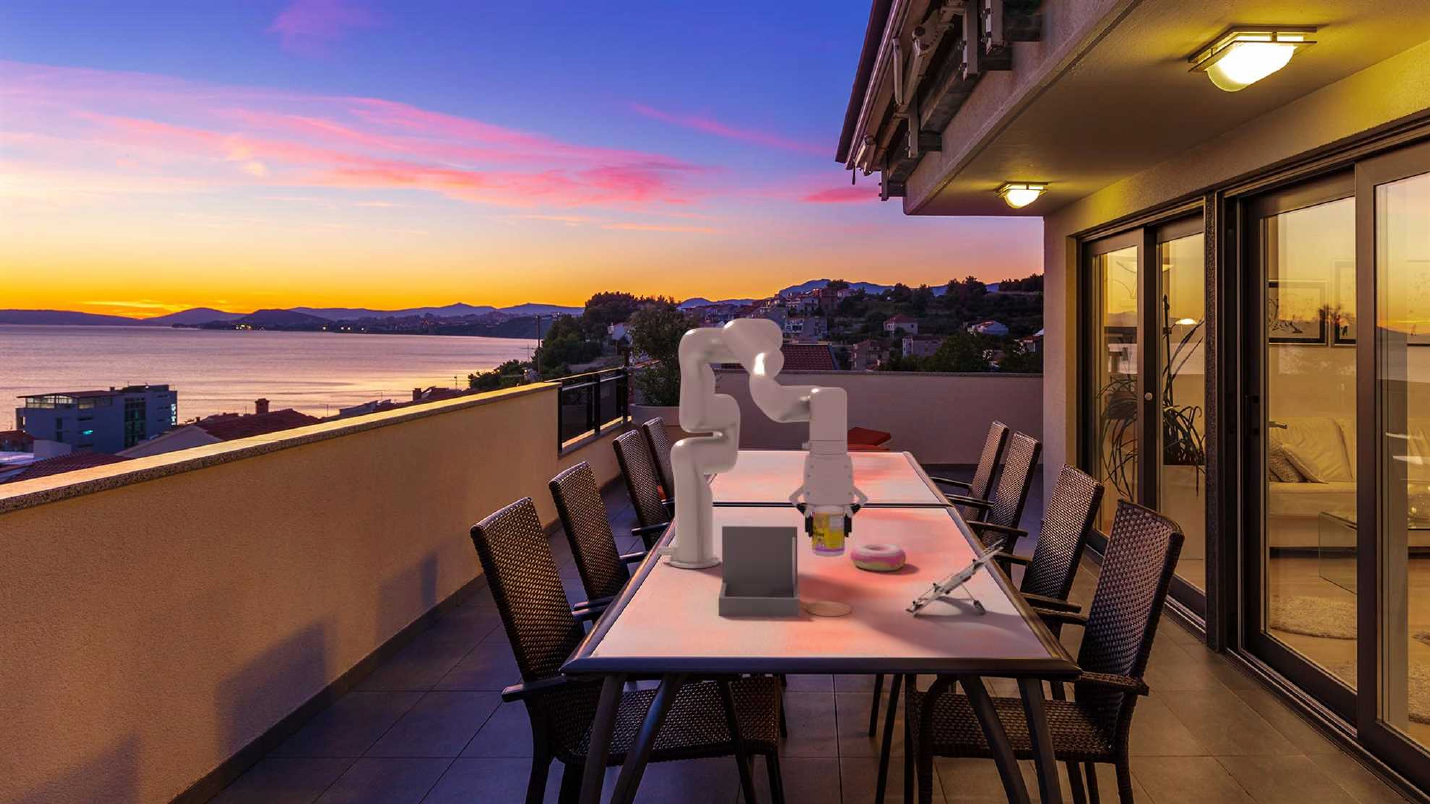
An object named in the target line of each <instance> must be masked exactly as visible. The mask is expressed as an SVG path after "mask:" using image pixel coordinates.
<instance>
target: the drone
mask: <svg viewBox="0 0 1430 804" xmlns="http://www.w3.org/2000/svg"><path fill="white" fill-rule="evenodd" d="M1002 541H1004V538H1002V539H1000V540H998V541H997V542H995V543H994V544H992V543H988V546H989V547H987V548H985V549H984V550H983V551H981V552H980V554H981V556H980V557H979V558H977V559H976V558H973V559H971V561H972V563H971V564H970V565H969V566H967V567H966V568H965V569H963V570H961V571H960V572H957V573H955V574H954V573H953V572H951V573H949V575H947V576H946V577H944V578H943V579H941V581H939V582H938V583H936V582H933V583H932V585H933V586H932V587H931V588H930V589H929V590H927V591H926V592H924V593H923V594H922V595H920V596H919V597H918V598H917V599H918V601H915V600H913V601H912V604H911V605H909V606H908V607H907V608H906V609H905V611H907V610H909V609H911V608H912V607H914V608H913V613H912V616H914V615H916V614H917V613H919V612H920V611H922V610H923V609H924V608H926V607H927V606H928V605H930V604H931V603H933V602H934V601H935V600H936V599H938V598H939V597H940V596H941V595H943V594H945V595H946V596H947V595H949V594H950V593H951V592H953V591H954V590H956V589H957V588H959V587H960V586H962V587H963V588H964V590H965V591H966V593H967V594H968V595H969V596H970V598H971V600H972V601H973V603H972V604H973V606H974V608H976V610H977V612H978V613H979V614H980V615H982V616H983V615H984V614H986V613H987V610H986V608H985V606H983V604H982V603H981V602H980V600H978V599H977V600H975V599H974V597H973V596H972V595H971V594H970V592H969V591H968V590H967V588H966V587H965V585H964V584H965V583H967V582H968V581H970V580H971V579H972V576H974V575H976V574H977V572H978V571H980V570H981V569H983V568H984V567H985V566H986V565H988V562H986V561H988V560H989V559H990V558H992V557H993V556H994V555H996V554H997V553H998V552H1000V551H1001V550H1002V549H1003V548H1004V547H1003V546H996V545H997V544H1000V543H1002ZM986 551H987V552H986ZM985 552H986V553H985ZM983 553H984V554H983ZM982 554H983V555H982ZM953 574H954V575H953ZM950 576H951V577H950ZM949 577H950V579H949V580H948V581H946V582H945V583H944V584H943V585H940V584H941V583H942V582H944V581H945V580H946V579H948V578H949ZM933 589H934V590H933ZM932 590H933V594H932V595H931V596H930V597H929V598H928V599H927V600H926V597H924V596H925V595H926V594H928V593H929V592H930V591H932ZM924 600H925V601H924ZM923 601H924V602H923ZM921 602H923V603H921Z"/></svg>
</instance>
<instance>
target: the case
mask: <svg viewBox="0 0 1430 804" xmlns="http://www.w3.org/2000/svg"><path fill="white" fill-rule="evenodd" d="M721 567H722V568H721V571H722V573H721V574H722V575H721V580H722V582H721V587H720V590H719V591H720V592H719V594H718V616H728V617H730V616H731V617H733V616H736V617H787V618H788V617H790V618H791V617H794V618H795V617H797V618H799V617H800V596H799V595H800V594H799V593H800V592H799V585H798V526H792V525H791V526H788V525H787V526H785V525H784V526H783V525H781V526H780V525H779V526H777V525H776V526H775V525H774V526H772V525H771V526H770V525H760V526H759V525H722V526H721Z"/></svg>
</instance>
